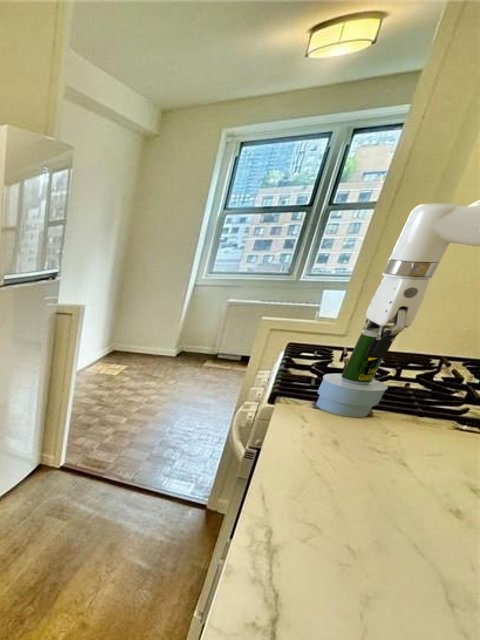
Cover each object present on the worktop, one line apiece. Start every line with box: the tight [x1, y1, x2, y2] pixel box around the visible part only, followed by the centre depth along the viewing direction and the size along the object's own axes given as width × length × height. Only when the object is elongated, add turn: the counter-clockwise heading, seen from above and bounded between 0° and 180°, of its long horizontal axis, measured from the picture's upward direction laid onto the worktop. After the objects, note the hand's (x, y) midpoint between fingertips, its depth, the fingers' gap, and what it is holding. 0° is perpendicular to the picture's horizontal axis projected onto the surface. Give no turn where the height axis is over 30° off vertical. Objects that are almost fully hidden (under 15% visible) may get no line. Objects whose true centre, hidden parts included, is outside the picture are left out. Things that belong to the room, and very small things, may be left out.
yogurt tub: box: [315, 373, 389, 418], centre depth 114 cm, size 11×11×7 cm
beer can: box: [341, 328, 388, 385], centre depth 110 cm, size 5×5×12 cm
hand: (368, 353), depth 110 cm, fingers closed on beer can, 5 cm apart
